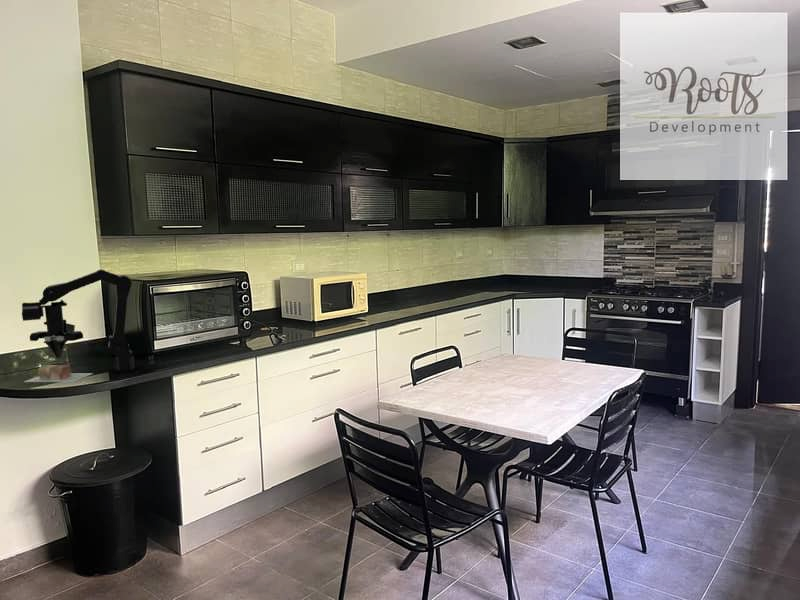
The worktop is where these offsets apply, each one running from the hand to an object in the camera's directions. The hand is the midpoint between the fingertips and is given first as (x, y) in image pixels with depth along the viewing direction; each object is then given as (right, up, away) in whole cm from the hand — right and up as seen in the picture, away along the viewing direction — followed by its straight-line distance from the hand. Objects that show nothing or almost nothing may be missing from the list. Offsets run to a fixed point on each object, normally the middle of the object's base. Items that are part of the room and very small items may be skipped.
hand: (58, 357), depth 229 cm
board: (-1, -9, +2) cm, 9 cm away
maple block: (+3, -6, 0) cm, 6 cm away
